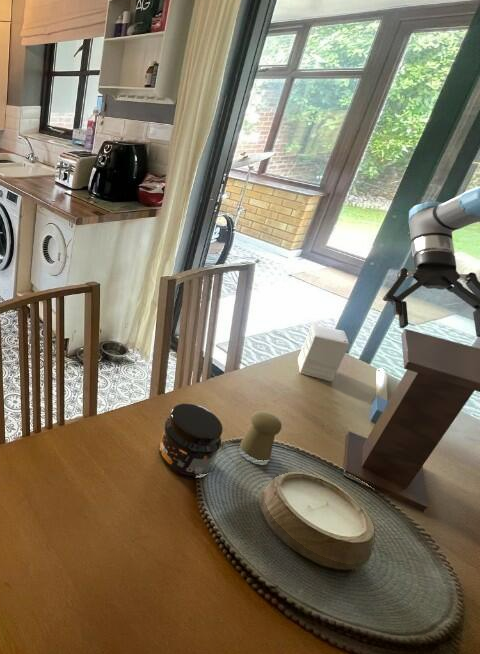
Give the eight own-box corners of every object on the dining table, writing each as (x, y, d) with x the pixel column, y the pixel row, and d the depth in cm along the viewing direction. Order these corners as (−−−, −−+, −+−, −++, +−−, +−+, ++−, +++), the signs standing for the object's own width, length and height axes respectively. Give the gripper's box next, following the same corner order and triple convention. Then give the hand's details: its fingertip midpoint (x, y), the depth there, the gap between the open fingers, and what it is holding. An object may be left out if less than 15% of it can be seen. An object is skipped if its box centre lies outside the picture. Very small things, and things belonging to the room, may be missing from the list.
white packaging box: (328, 367, 117) (345, 330, 111) (332, 382, 111) (350, 344, 106) (296, 359, 120) (311, 323, 115) (298, 373, 115) (314, 335, 109)
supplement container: (153, 437, 95) (163, 398, 90) (202, 444, 93) (216, 404, 88) (163, 476, 86) (175, 435, 80) (217, 485, 84) (234, 444, 78)
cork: (240, 460, 89) (255, 423, 84) (234, 439, 94) (248, 403, 89) (273, 468, 87) (290, 431, 82) (265, 447, 92) (281, 410, 87)
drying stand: (418, 465, 88) (495, 352, 75) (423, 512, 78) (512, 393, 65) (345, 435, 95) (404, 328, 82) (342, 475, 86) (408, 361, 73)
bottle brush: (388, 376, 113) (394, 365, 112) (390, 428, 97) (397, 417, 95) (371, 370, 115) (376, 360, 114) (370, 420, 99) (376, 409, 97)
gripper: (494, 266, 106) (507, 344, 99) (365, 259, 119) (368, 327, 111) (513, 252, 100) (528, 334, 93) (375, 246, 113) (379, 317, 105)
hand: (441, 330), depth 102 cm, fingers open, 13 cm apart
